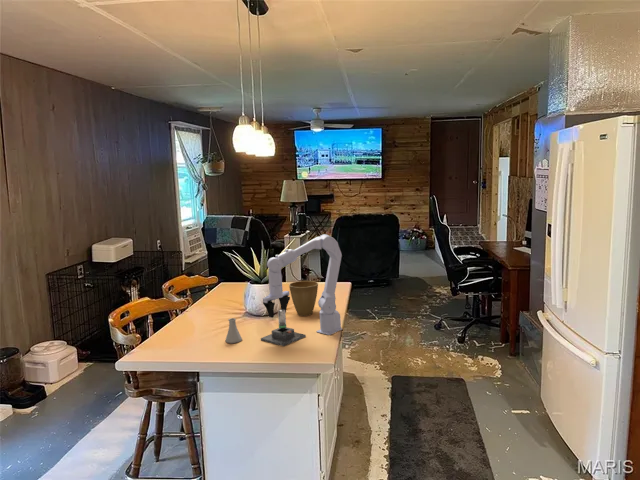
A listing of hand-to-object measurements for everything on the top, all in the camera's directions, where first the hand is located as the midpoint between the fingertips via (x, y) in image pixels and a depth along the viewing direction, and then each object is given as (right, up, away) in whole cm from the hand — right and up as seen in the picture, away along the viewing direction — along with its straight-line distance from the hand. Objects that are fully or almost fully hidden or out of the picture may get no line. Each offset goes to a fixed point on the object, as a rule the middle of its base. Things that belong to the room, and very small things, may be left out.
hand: (277, 314), depth 214 cm
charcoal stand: (+3, -11, 0) cm, 11 cm away
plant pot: (+11, -5, +35) cm, 38 cm away
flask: (-19, -12, 0) cm, 23 cm away
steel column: (+2, -5, -1) cm, 6 cm away
